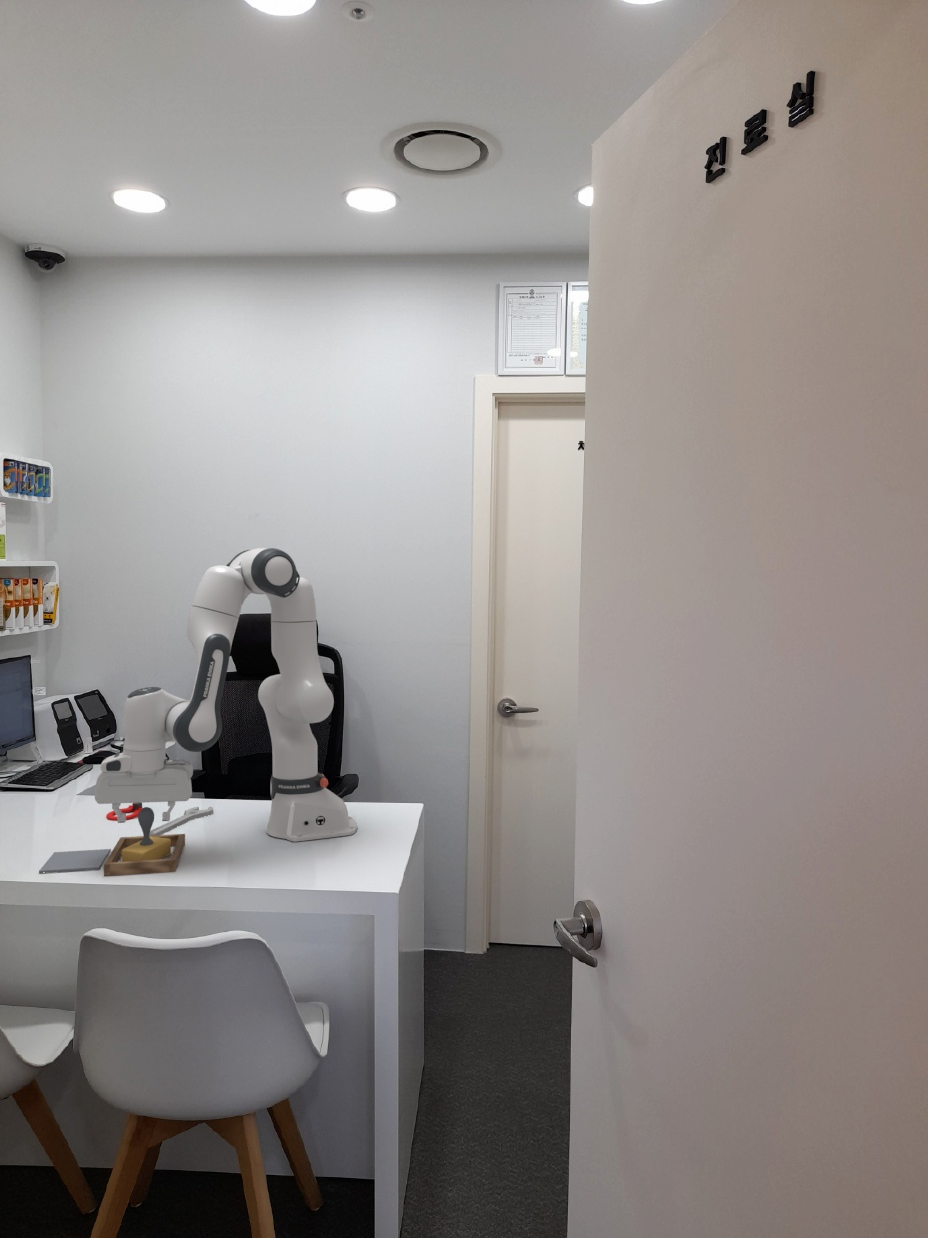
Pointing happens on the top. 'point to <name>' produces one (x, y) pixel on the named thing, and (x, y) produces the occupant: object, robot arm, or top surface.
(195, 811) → the adjustable wrench
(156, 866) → the wooden frame
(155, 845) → the rubber stamp
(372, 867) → the top surface
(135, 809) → the tow hook
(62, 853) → the slate mat
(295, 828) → the robot arm
